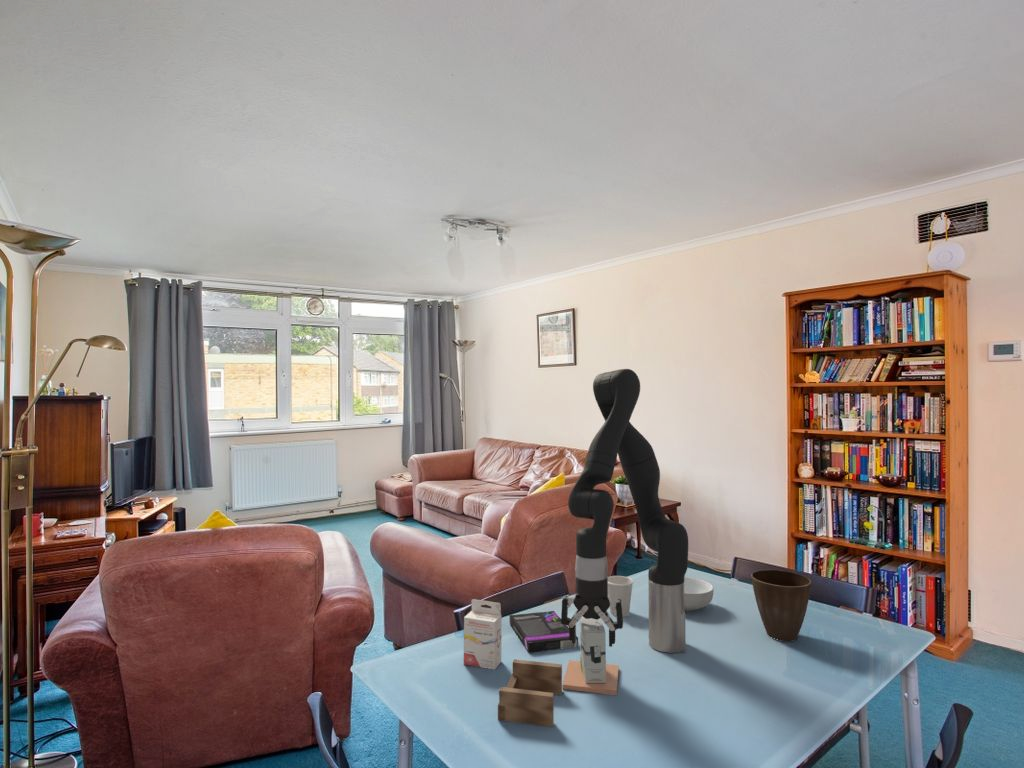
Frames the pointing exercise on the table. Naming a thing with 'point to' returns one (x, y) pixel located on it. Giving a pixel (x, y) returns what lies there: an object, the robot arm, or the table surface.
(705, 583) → the cereal bowl
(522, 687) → the walnut slot rack
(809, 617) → the table surface
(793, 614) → the plant pot
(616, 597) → the dixie cup
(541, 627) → the box
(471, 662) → the ink cartridge box
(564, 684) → the terracotta tile
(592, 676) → the ink box
